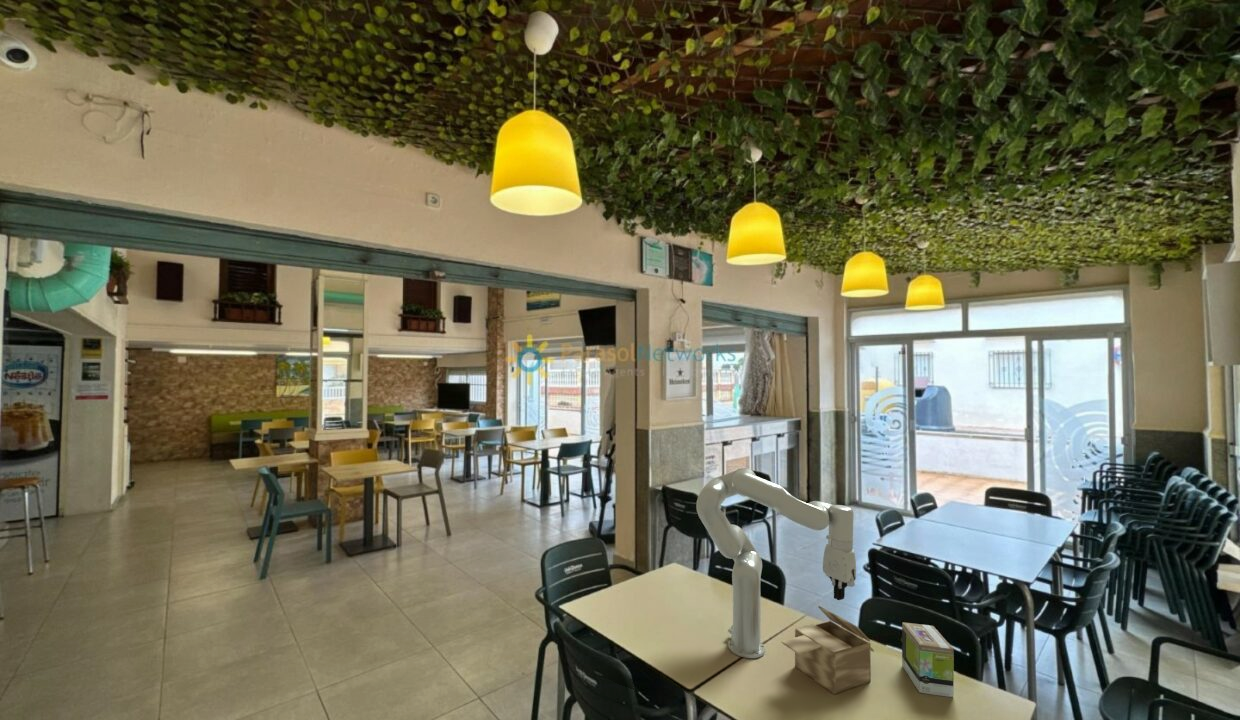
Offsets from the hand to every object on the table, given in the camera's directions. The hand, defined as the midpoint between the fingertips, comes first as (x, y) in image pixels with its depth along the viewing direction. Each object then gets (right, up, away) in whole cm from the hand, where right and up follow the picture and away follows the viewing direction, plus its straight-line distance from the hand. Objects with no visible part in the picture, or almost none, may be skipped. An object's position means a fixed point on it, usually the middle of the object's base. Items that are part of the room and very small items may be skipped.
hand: (838, 598), depth 164 cm
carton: (-4, -22, -5) cm, 23 cm away
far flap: (+3, -10, -1) cm, 11 cm away
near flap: (-12, -10, -8) cm, 17 cm away
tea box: (+25, -23, -8) cm, 35 cm away
